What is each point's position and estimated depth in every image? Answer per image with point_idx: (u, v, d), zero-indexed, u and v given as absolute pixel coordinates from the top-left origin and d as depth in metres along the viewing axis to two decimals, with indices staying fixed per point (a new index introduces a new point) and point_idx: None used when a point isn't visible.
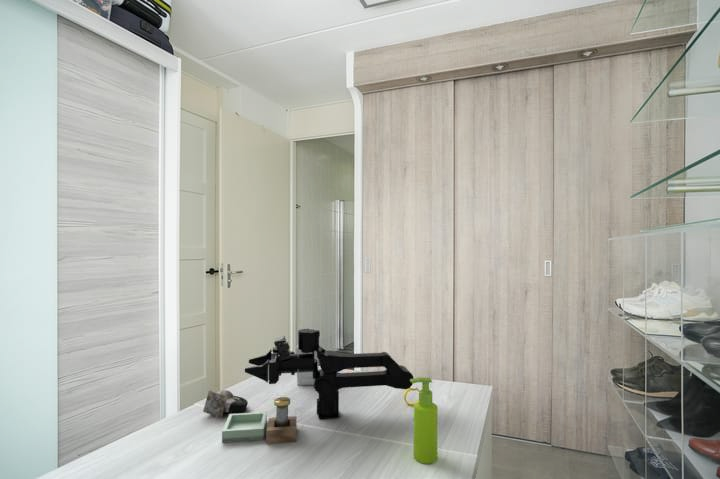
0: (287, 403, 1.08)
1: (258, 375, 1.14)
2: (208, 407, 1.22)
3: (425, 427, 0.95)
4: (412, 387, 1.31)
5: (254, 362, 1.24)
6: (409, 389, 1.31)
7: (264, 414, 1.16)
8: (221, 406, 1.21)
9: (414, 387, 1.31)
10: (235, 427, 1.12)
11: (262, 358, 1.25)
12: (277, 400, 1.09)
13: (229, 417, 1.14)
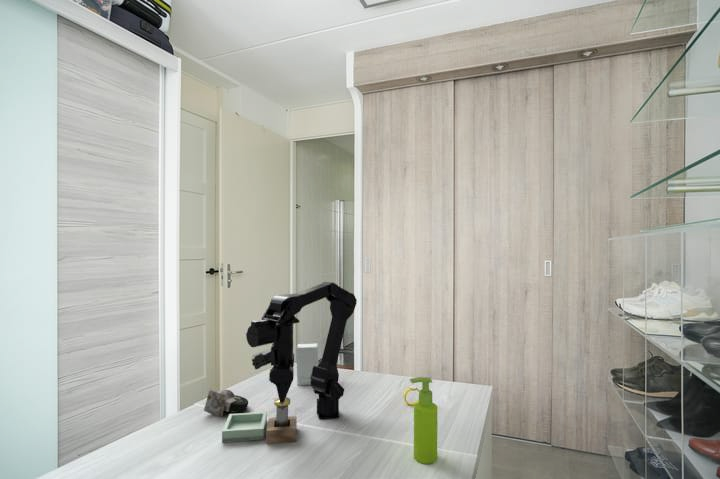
0: (287, 403, 1.08)
1: (286, 388, 1.04)
2: (209, 406, 1.22)
3: (425, 427, 0.95)
4: (412, 387, 1.31)
5: None
6: (409, 389, 1.31)
7: (264, 414, 1.16)
8: (221, 405, 1.21)
9: (414, 387, 1.31)
10: (235, 427, 1.12)
11: None
12: (277, 400, 1.09)
13: (229, 417, 1.14)
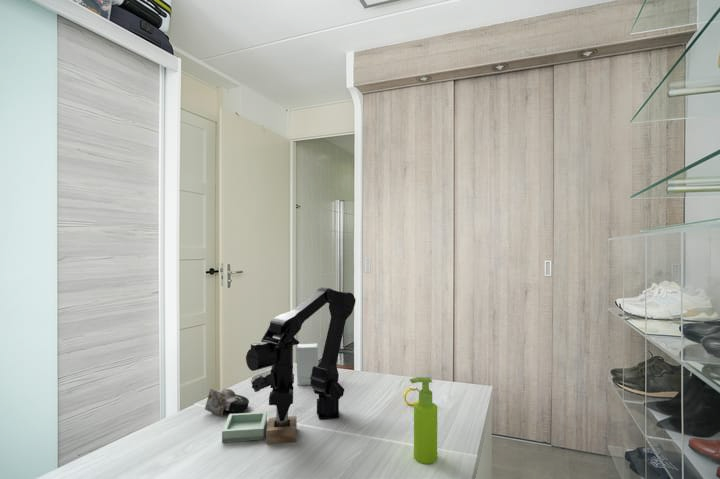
0: None
1: (286, 407, 1.06)
2: (209, 405, 1.23)
3: (425, 427, 0.95)
4: (412, 387, 1.31)
5: None
6: (409, 389, 1.31)
7: (264, 414, 1.16)
8: (221, 405, 1.22)
9: (414, 387, 1.31)
10: (235, 427, 1.12)
11: None
12: None
13: (229, 417, 1.14)
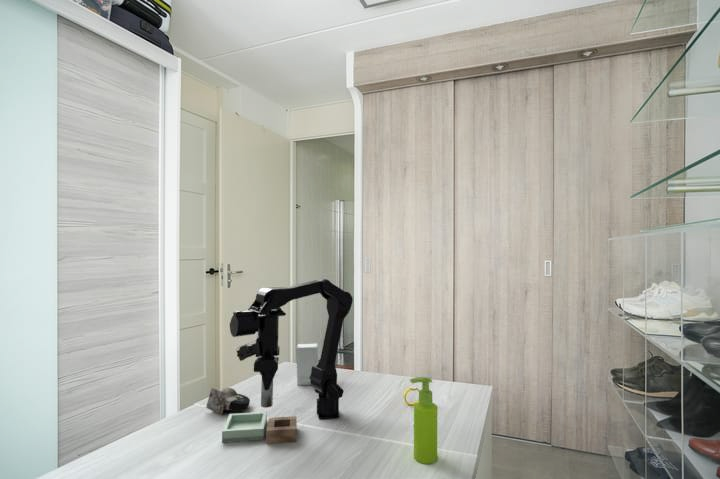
0: None
1: (271, 376, 1.07)
2: (210, 403, 1.25)
3: (425, 427, 0.95)
4: (412, 387, 1.31)
5: None
6: (409, 389, 1.31)
7: (264, 414, 1.16)
8: (222, 403, 1.23)
9: (414, 387, 1.31)
10: (235, 427, 1.12)
11: None
12: None
13: (229, 417, 1.14)
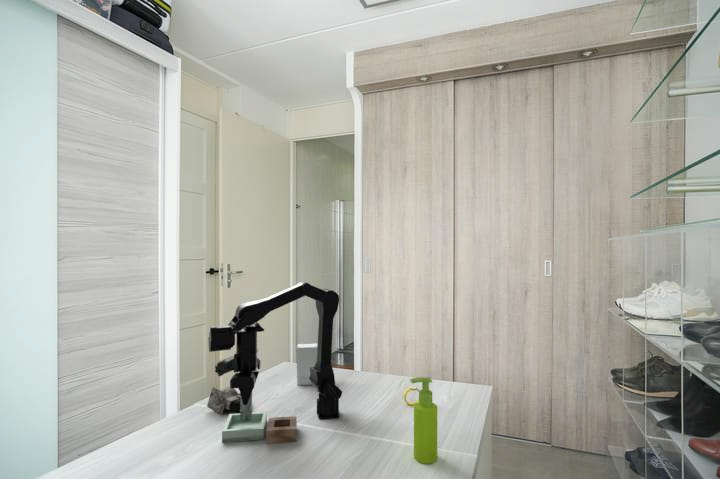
0: None
1: (249, 391, 1.09)
2: (211, 403, 1.25)
3: (425, 427, 0.95)
4: (412, 387, 1.31)
5: None
6: (409, 389, 1.31)
7: (264, 414, 1.16)
8: (222, 403, 1.23)
9: (414, 387, 1.31)
10: (235, 427, 1.12)
11: None
12: None
13: (229, 417, 1.14)
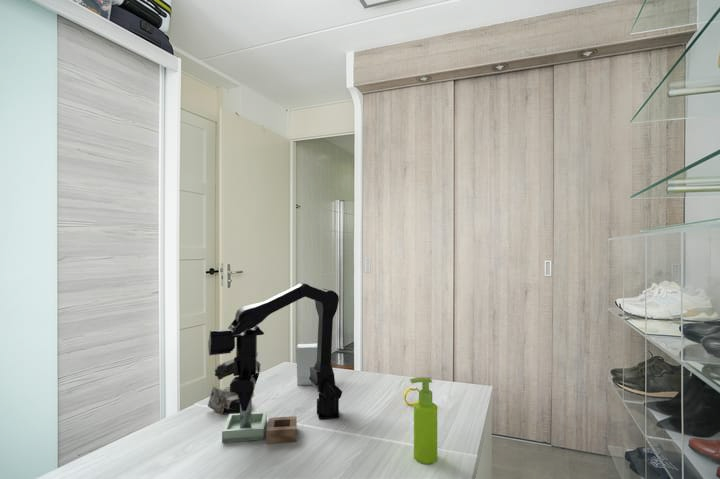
0: None
1: (248, 397, 1.07)
2: (212, 402, 1.25)
3: (425, 427, 0.95)
4: (412, 387, 1.31)
5: None
6: (409, 389, 1.31)
7: (264, 414, 1.16)
8: (222, 402, 1.24)
9: (414, 387, 1.31)
10: (235, 427, 1.12)
11: None
12: None
13: (229, 417, 1.14)
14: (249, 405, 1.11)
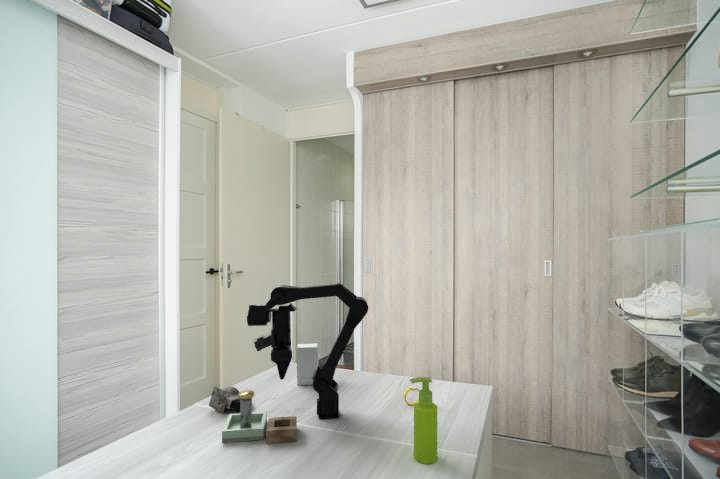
0: (250, 396, 1.10)
1: (286, 366, 1.17)
2: (213, 402, 1.26)
3: (425, 427, 0.95)
4: (412, 387, 1.31)
5: None
6: (409, 389, 1.31)
7: (264, 414, 1.16)
8: (223, 402, 1.24)
9: (414, 387, 1.31)
10: (235, 427, 1.12)
11: None
12: (241, 393, 1.11)
13: (229, 417, 1.14)
14: (249, 405, 1.11)
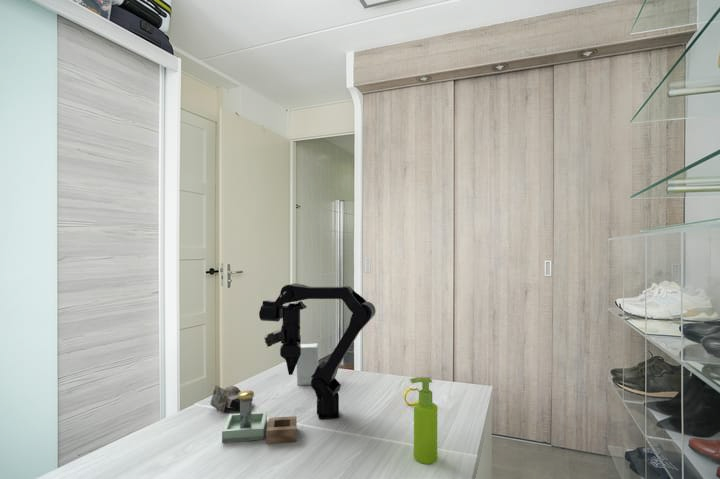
0: (250, 396, 1.10)
1: (294, 362, 1.21)
2: (214, 400, 1.27)
3: (425, 427, 0.95)
4: (412, 387, 1.31)
5: None
6: (409, 389, 1.31)
7: (264, 414, 1.16)
8: (223, 401, 1.25)
9: (414, 387, 1.31)
10: (235, 427, 1.12)
11: None
12: (241, 393, 1.11)
13: (229, 417, 1.14)
14: (249, 405, 1.11)
